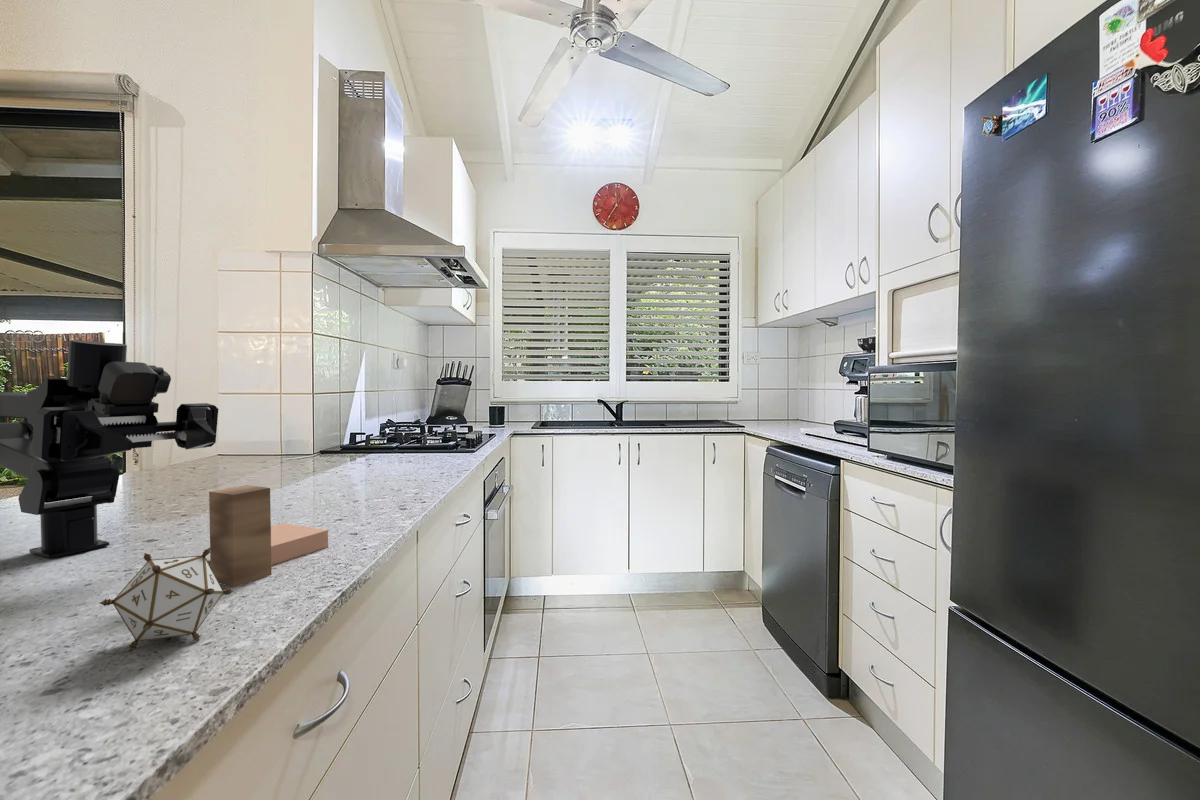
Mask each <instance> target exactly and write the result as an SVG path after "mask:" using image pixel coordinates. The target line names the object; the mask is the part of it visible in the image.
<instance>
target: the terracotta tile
mask: <svg viewBox="0 0 1200 800" xmlns="http://www.w3.org/2000/svg"><path fill="white" fill-rule="evenodd" d="M326 548H329V530H328V529H322V528H316V527H311V526H302V525H297V524H291V523H286V522H285V523H284V522H280V523H277V524H274V525H271V566H273V565H277V564H279V563H282V562H285V561H289V560H292V559H295V558H299V557H301V555H302V556H305V555H307V554H311V553H314V552H317V551H321V550H323V549H326Z"/></svg>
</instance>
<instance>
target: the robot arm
mask: <svg viewBox="0 0 1200 800" xmlns="http://www.w3.org/2000/svg"><path fill="white" fill-rule="evenodd" d="M127 351H128V344H124V343H118V342H117V343H116V342H115V343H114V342H99V341H91V340H77V339H76V340H69V341H68V355H67V357H68V358H67V370H66V371H67V372H66V373H67V375H66V377H65V378H64V377H63V378H60V377H59V378H58V377H57V378H54V377H53V378H52V377H51V378H48V377H47V378H46V377H45V378H44V379H43V380H42V382H41V383H40V384H39V385H38V386H36V388H34V389H30V390H28V391H27V392H26V393H25V392H23V391H0V419H2V418H5V419H6V418H12V419H13V418H14V419H22V420H21V423H20V422H15V421H14V422H0V466H1V467H3V468H4V469H7V470H9V471H11V472H14V473H15V474H18V475H20V476H22V477H24V478H27V480H26V483H25V484H24V486H23V488H22V489H21V492H20V493H19V496H18V503H19V508H20V512H21V513H23V514H30V515H34V516H39V515H40V517H39V518H40V546H38V547H34V548H30V549H29V553H30V554H32V555H38V556H41V557H44V558H48V559H53V558H57V557H58V558H59V557H64V556H67V555H72V554H76V553H81V552H84V551H90V550H96V549H99V548H104V547H108V546H110V541H107V540H101V539H98V508H97V507H98V506H99V505H103V504H113V503H115V498H116V496H117V492H118V491H117V490H118V485H119V479H120V472H119V468H118V466H117V464H116V463H114V462H113V461H112V460H111V458H109V457H108V456H110V455H115V454H121V453H124V452H128V451H131V450H133V449H141V448H151V447H152V444H153V441H165V440H174V441H175V443H176V445H177V447H178V448H181V449H185V450H192V449H193V450H195V449H203V448H211V447H213V445H215V444H216V442H217V441H216V440H217V431H218V430H217V429H218V417H219V408H218V407H217V406H216V405H215V404H211V403H208V402H207V403H206V402H204V403H203V402H201V403H199V402H198V403H180V404H179V406H178V407H177V408H176V417H175V421H163V422H162V421H158V418H157V416H156V415H154V414H155V413H158V412H159V403H158V402H155V401H153V400H154V398H156V397H157V396H158V394H166V393H168V390H169V387H170V384H171V381H172V378H171V377H172V376H171V375H170V374H169V373H168V372H167V371H165V369H164V368H163V367H160V366H156V365H152V364H151V365H148V364H147V363H145V362H139V361H138V362H136V361H133V362H131V361H127Z"/></svg>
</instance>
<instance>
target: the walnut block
mask: <svg viewBox="0 0 1200 800" xmlns="http://www.w3.org/2000/svg"><path fill="white" fill-rule="evenodd" d="M208 496H209V497H208V499H209V500H208V502H209V505H208V506H209V509H208V510H209V512H208V513H209V548H210V553H209V558H210V559H209V560H210V561H209V562H210V563H209V565H210V567H211V569H212V570H213V572H214V574H215V576H216V578H217V580H218V582H219V583H221V584H220V585H223V584H225V585H224V586H227V585H228V587H231V586H232V588H235V587H240V586H242V585H245V584H247V583H250V581H251V582H254V581H257V580H261V579H262V578H265V577H266V578H267V577H269V576H271V575H272V565H271V526H272V524H271V523H272V522H271V519H272V518H271V516H272V515H271V510H272V509H271V487H267V486H258V485H241V486H235V487H234V486H233V487H229V488H223V489H216V490H211V491H208ZM253 580H254V581H253ZM244 583H245V584H244ZM241 584H242V585H241Z"/></svg>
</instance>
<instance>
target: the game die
mask: <svg viewBox="0 0 1200 800" xmlns="http://www.w3.org/2000/svg"><path fill="white" fill-rule="evenodd" d="M207 556H210V547H208V548H206V549H204V550H203V551H202V554H201V555H195V556H194V555H192V556H180V557H179V556H177V557H169V558H156V559H152V556H151V554H149V553H146V552H144V555H143V557H142V558H143V559H144V561H146V563H145V564H144V565H143V566H142V567H141V569H139V571H138V572H136V574H135V575H134V577H132V579H130V581H129V582H127V584H126V585H125V586H124V588H122V590H121V591H120V592H119V593H118V594H117V595H116V597H115V598H114V599H110V598H109V599H107V598H105V599H104V600H102V601H100V602H99V604H100V605H102V606H104V607H105V606H110V605H113V606H114V608H115V610H116V611H117V613H118V615H119V616H120V618H121V619H122V621H123V622H124V624H125V626H126V627H127V629H128V631H129V632H130V633H131V635H132V637H133V639H134V640H133V641H131V643H130V644H128V645H129V648H128V652H130V651H131V650H133V649H135V648H137V646H138V645H139V642H143V641H150V640H156V639H157V640H160V639H165V638H174V637H181V636H182V637H183V636H191V639H193V640H192V641H196V642H200V638H201V635H200V634H199V633H197V631H198V629H199V628H200V627H201V625H202V624H203V623H204V621H205V620H206V619H207V617H208V616H209V614H210V613H211V611H212V610H213V609H214V607H215V605H217V603H218V602H219V600H220V599H221V597H222V596H223V595H225V596H226V595H228V596H229V595H231V594H232V593H234V592H235V591H234V590H232V589H231V588H228V589H227V588H225V589H223V587H222V586H221V585H222V584H220V583H219V582H218V580H217V578H216V576H215V574H214V572H213V570H212V569H211V566H210V563H209V562H208V559H207V558H206V557H207Z"/></svg>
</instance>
